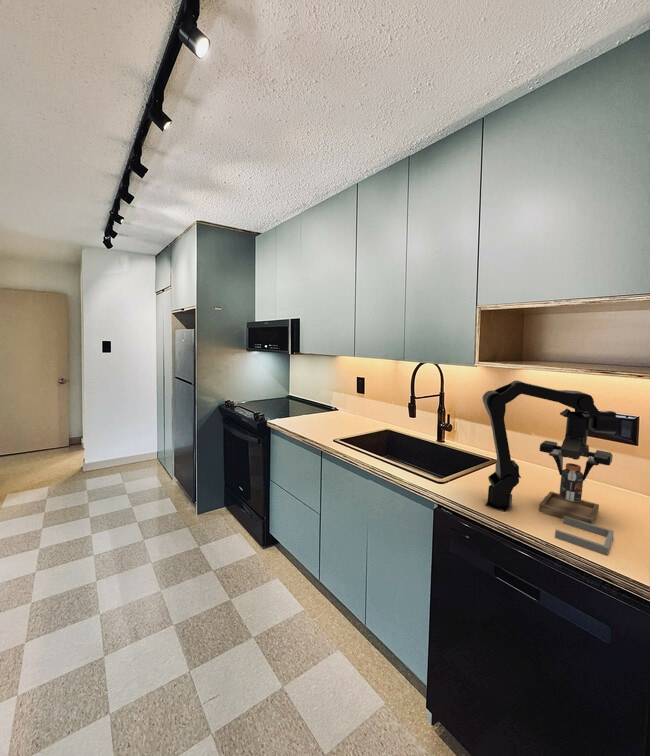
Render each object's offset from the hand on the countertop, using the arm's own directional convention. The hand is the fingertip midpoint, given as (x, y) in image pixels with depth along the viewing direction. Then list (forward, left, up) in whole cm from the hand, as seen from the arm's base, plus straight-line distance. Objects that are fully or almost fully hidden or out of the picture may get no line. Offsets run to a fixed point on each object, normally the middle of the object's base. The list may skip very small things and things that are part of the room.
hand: (572, 477), depth 116 cm
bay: (+6, -14, -12) cm, 20 cm away
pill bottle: (0, 0, -7) cm, 7 cm away
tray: (0, +1, -12) cm, 12 cm away
